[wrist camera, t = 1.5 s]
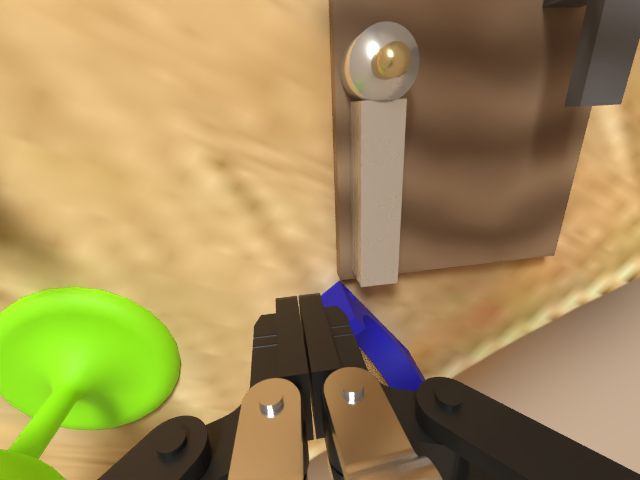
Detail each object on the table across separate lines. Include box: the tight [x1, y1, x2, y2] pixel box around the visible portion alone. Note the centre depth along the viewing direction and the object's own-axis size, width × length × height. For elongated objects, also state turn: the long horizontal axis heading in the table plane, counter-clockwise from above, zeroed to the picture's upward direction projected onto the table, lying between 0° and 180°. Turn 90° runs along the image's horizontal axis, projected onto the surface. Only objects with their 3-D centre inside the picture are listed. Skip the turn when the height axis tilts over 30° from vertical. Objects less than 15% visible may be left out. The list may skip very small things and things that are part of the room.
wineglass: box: [0, 287, 181, 480], centre depth 21 cm, size 16×16×18 cm
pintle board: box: [329, 0, 640, 280], centre depth 24 cm, size 23×21×6 cm
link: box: [340, 21, 420, 287], centre depth 23 cm, size 18×4×5 cm, turn 3°
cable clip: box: [321, 281, 425, 391], centre depth 30 cm, size 12×4×6 cm, turn 40°
